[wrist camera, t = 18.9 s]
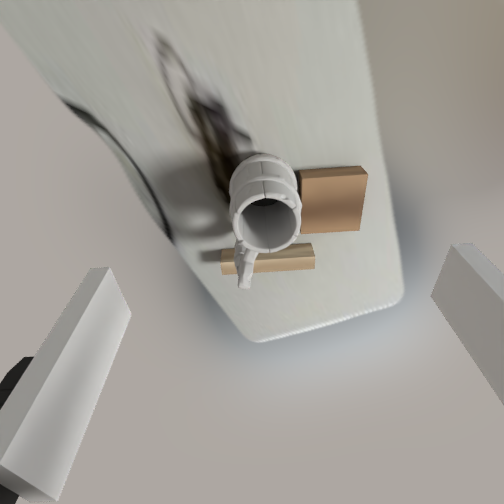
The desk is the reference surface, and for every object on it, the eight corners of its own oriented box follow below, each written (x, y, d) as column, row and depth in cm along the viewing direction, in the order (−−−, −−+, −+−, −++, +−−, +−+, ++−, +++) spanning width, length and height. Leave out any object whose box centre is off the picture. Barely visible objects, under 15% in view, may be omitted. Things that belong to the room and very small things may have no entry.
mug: (306, 164, 34) (329, 214, 25) (266, 245, 41) (272, 310, 31) (243, 139, 33) (241, 182, 23) (212, 228, 39) (199, 291, 29)
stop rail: (221, 249, 41) (220, 262, 39) (311, 243, 41) (315, 256, 38) (223, 261, 42) (222, 274, 40) (310, 255, 42) (314, 268, 39)
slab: (298, 168, 35) (302, 178, 33) (359, 164, 35) (368, 174, 32) (297, 221, 39) (300, 234, 37) (352, 218, 39) (359, 230, 36)
